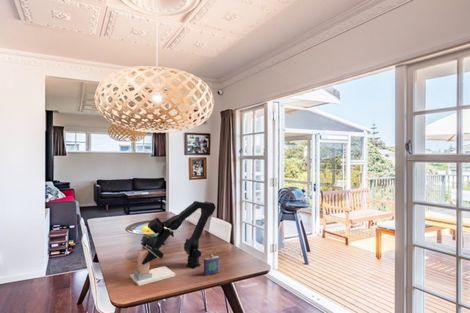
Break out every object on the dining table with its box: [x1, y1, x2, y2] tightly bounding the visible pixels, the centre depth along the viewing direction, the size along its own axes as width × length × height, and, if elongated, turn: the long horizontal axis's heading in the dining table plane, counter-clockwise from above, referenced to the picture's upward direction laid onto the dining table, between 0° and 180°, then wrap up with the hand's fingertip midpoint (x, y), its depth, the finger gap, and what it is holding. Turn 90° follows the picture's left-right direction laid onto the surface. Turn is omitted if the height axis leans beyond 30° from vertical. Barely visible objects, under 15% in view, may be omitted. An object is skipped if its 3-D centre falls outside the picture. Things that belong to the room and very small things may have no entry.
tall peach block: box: [136, 248, 151, 276], centre depth 155 cm, size 5×4×13 cm
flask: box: [203, 254, 220, 277], centre depth 162 cm, size 9×3×11 cm, turn 121°
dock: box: [129, 265, 176, 286], centre depth 158 cm, size 20×13×4 cm, turn 128°
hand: (140, 263), depth 154 cm, fingers closed on tall peach block, 4 cm apart
